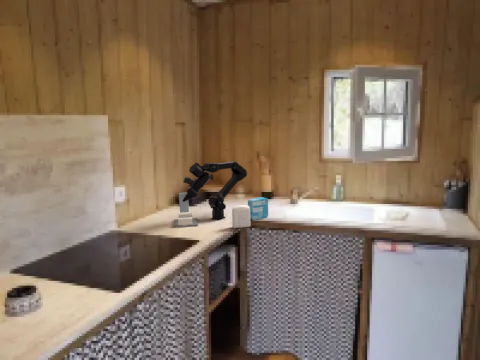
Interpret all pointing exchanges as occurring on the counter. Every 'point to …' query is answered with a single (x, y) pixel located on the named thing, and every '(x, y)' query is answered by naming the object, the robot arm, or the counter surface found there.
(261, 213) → the data package
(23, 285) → the counter surface
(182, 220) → the board
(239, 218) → the photo printer
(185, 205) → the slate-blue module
